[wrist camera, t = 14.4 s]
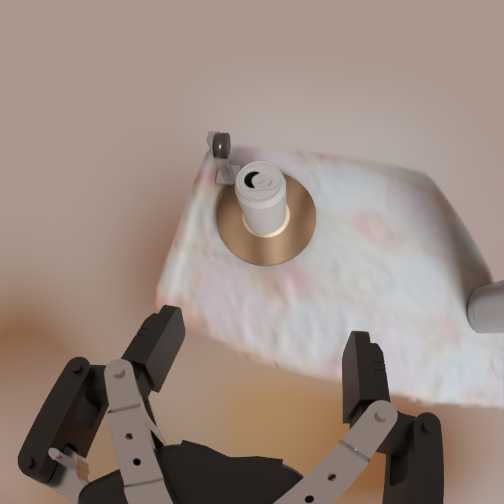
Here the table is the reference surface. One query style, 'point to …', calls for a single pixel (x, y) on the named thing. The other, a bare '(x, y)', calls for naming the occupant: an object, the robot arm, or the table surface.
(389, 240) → the table surface
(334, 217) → the table surface
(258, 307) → the table surface
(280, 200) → the beverage can
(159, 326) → the robot arm
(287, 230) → the disc
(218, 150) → the stand
